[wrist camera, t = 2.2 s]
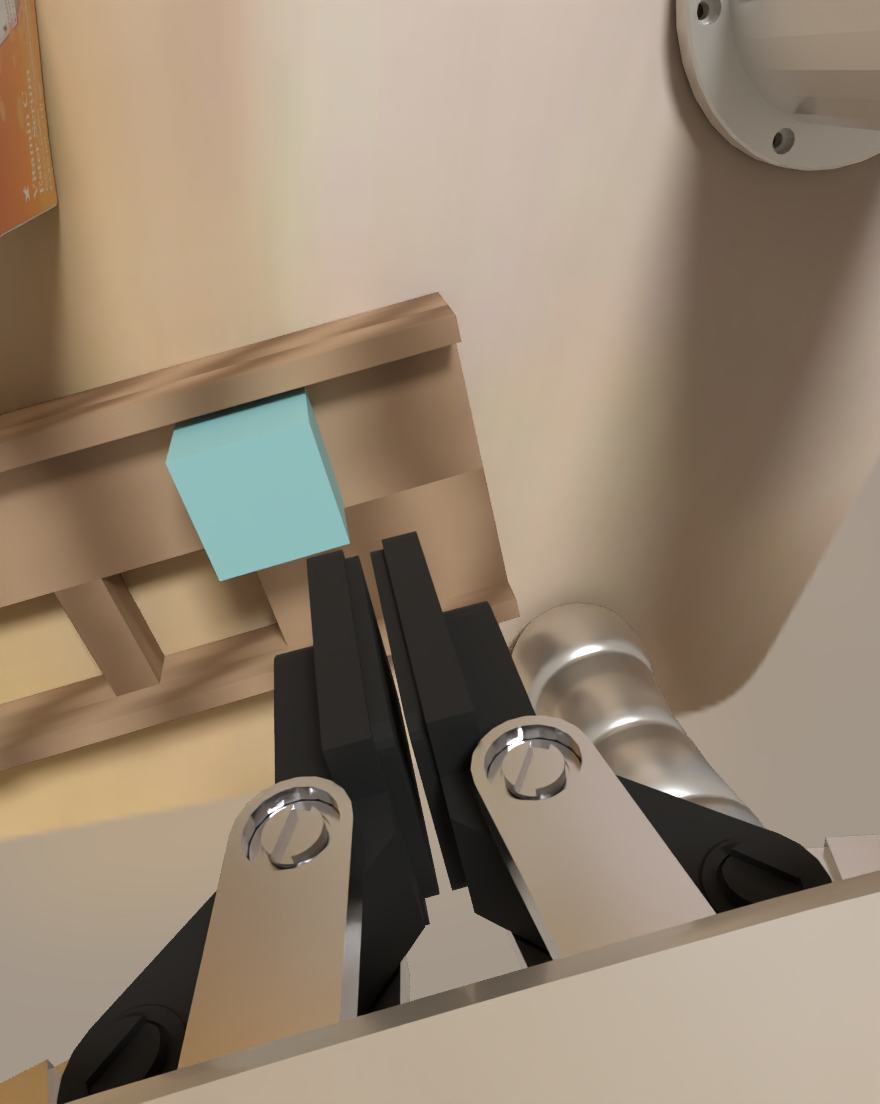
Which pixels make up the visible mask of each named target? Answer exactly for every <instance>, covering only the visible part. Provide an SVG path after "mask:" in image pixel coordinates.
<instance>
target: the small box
mask: <svg viewBox="0 0 880 1104" xmlns="http://www.w3.org/2000/svg"><path fill="white" fill-rule="evenodd" d="M56 205H57V194H56V188H55V180H54V173H53V167H52V161H51V153H50V145H49V137H48V129H47V121H46V112H45V102H44V93H43V83H42V73H41V62H40V52H39V42H38V32H37V23H36V14H35V5H34V0H0V237H1V236H3V235H5V234H6V233H8V232H10V231H12V230H14V229H16V228H18V227H19V226H21V225H23V224H25V223H26V222H28V221H30V220H32V219H34V218H36V217H37V216H39V215H41V214H43V213H44V212H47V211H48V210H50V209H52V208H54V207H55V206H56Z"/></svg>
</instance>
